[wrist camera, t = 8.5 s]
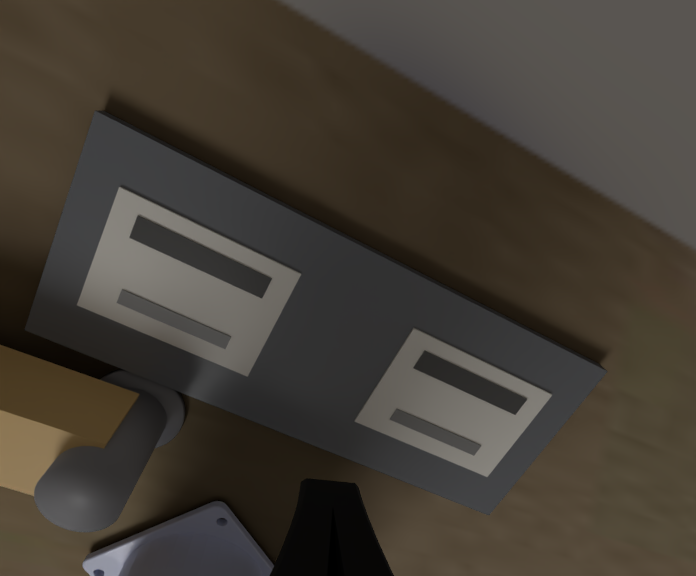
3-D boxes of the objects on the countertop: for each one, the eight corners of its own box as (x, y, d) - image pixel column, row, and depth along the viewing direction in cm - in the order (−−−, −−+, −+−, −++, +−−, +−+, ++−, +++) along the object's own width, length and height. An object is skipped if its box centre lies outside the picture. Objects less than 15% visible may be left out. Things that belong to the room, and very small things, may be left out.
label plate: (599, 364, 20) (609, 373, 19) (441, 558, 24) (445, 571, 23) (103, 110, 16) (92, 110, 15) (8, 399, 19) (-4, 410, 19)
